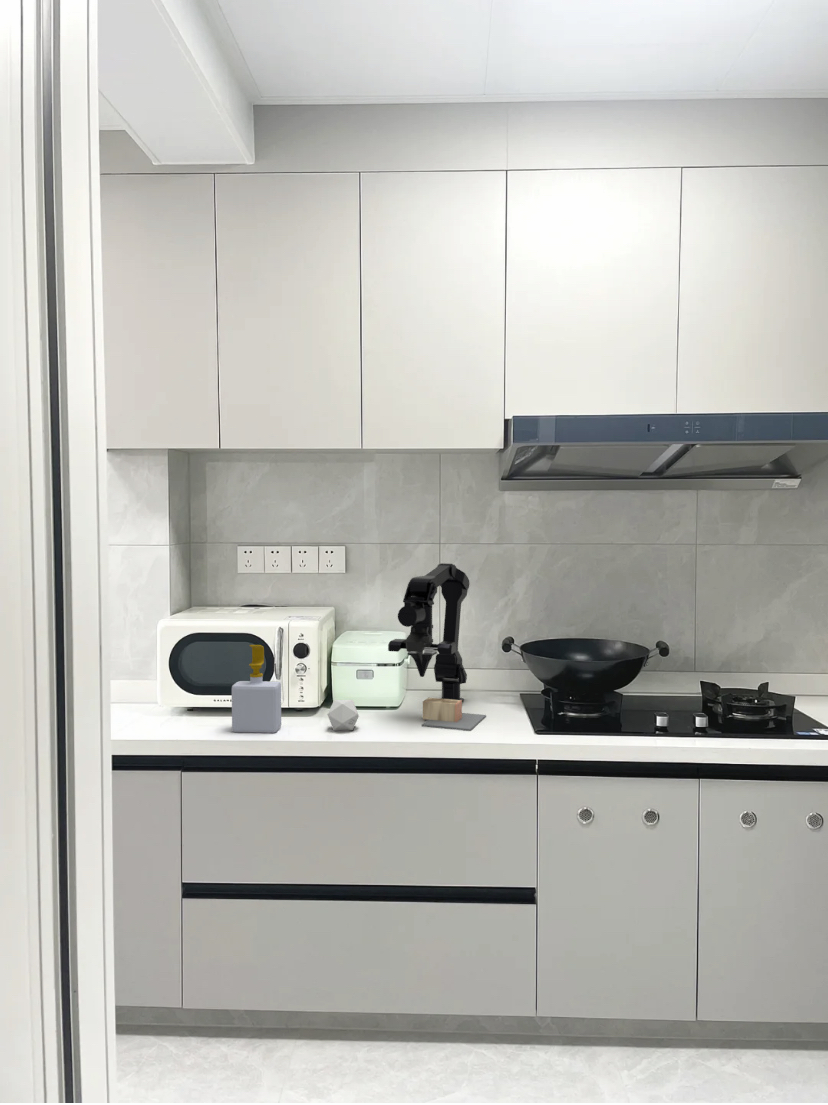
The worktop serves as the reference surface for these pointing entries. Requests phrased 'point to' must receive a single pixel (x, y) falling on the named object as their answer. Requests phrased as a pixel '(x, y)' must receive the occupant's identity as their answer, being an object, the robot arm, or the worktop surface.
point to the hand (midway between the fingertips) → (422, 676)
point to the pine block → (442, 709)
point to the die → (343, 715)
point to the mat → (464, 723)
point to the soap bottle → (256, 700)
